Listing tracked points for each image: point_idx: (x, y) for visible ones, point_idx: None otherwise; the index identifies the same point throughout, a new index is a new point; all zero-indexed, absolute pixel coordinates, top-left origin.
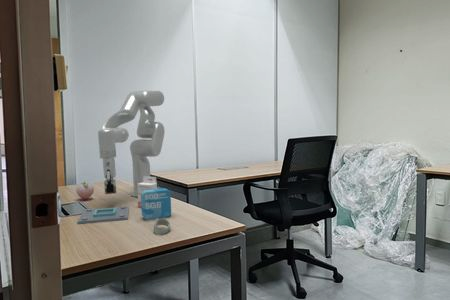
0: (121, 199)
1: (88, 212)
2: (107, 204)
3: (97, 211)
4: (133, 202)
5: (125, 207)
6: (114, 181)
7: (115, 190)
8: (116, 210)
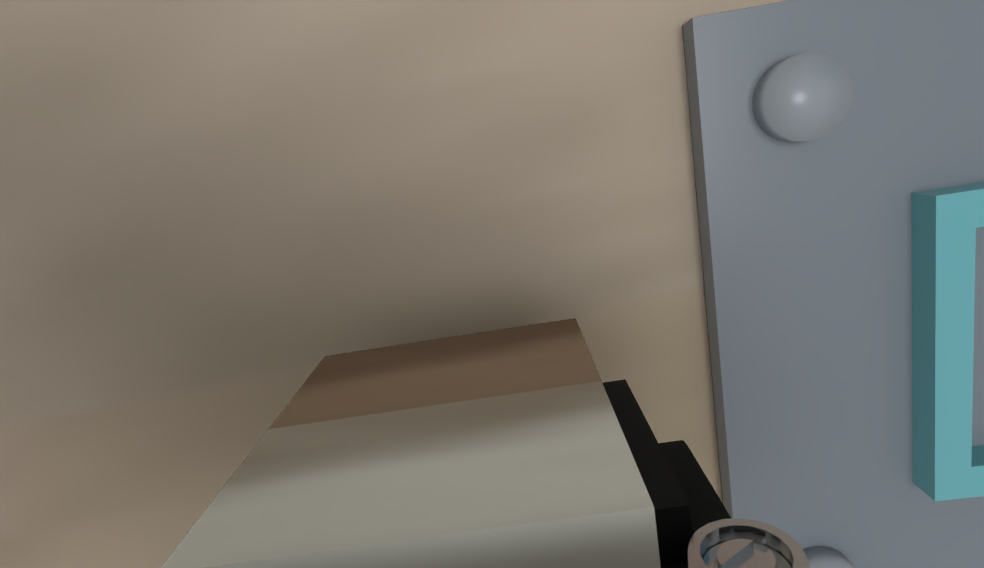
0: (13, 283)
1: (921, 564)
2: None
3: (968, 454)
4: (239, 27)
5: (805, 54)
6: (653, 523)
7: (585, 347)
8: (937, 182)
